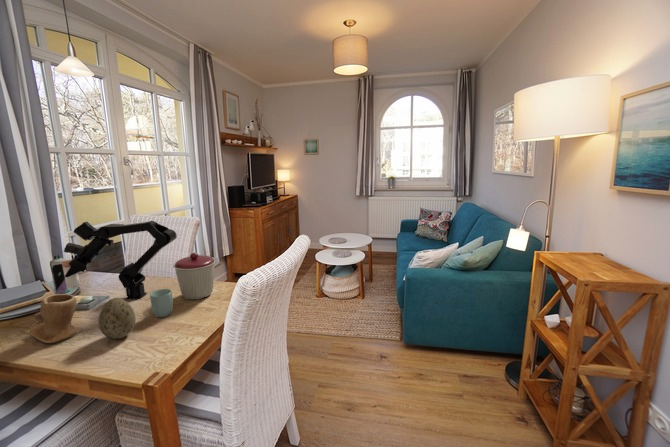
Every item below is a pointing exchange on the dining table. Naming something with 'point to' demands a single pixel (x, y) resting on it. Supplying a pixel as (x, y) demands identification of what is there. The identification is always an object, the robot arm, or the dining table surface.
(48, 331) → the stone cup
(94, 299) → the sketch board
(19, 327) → the dining table surface
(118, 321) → the decorative egg
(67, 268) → the white pink-capped bottle
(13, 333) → the dining table surface
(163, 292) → the cup
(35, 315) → the stand
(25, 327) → the dining table surface
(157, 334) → the dining table surface
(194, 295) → the canister
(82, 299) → the button
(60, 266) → the spray can
